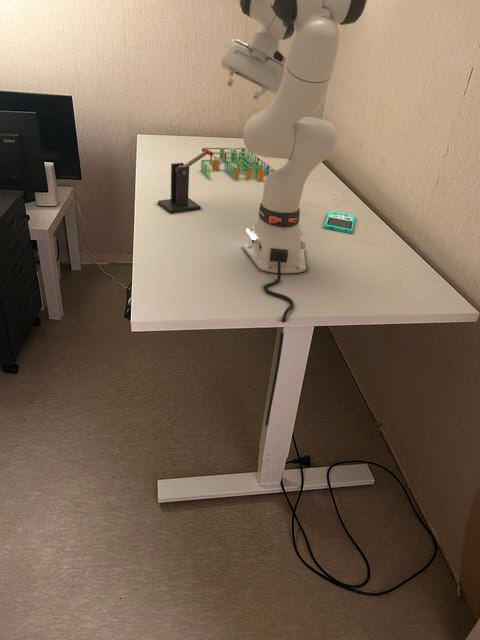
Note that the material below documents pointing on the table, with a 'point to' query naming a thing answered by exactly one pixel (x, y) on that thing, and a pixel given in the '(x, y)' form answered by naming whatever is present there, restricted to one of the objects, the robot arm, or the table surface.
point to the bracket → (179, 191)
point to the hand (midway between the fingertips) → (242, 92)
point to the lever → (197, 158)
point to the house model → (244, 161)
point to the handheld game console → (340, 222)
